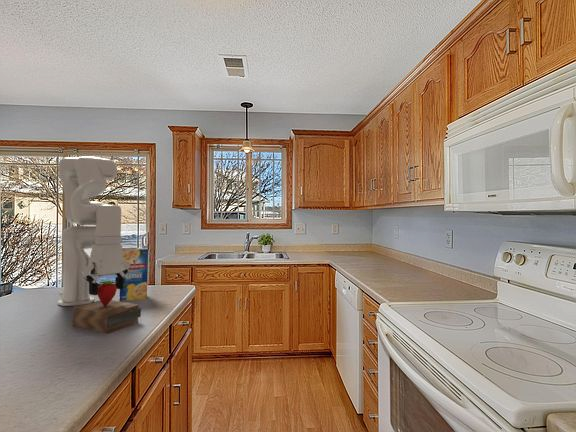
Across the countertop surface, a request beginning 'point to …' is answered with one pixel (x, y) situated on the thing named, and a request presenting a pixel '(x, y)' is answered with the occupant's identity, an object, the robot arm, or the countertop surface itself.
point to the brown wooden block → (105, 315)
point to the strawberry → (106, 291)
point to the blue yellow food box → (135, 274)
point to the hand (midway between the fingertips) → (106, 291)
